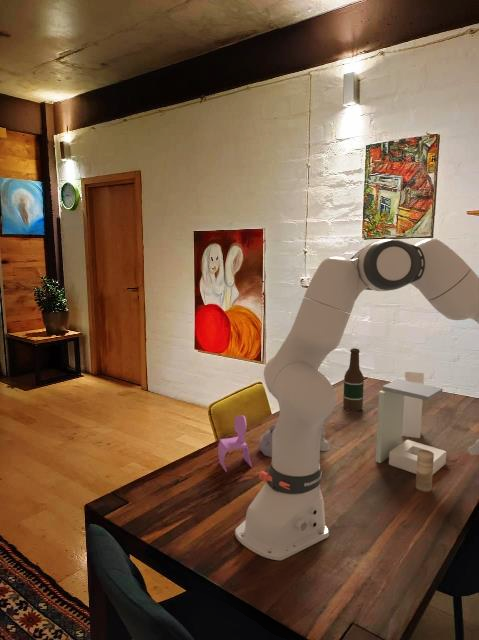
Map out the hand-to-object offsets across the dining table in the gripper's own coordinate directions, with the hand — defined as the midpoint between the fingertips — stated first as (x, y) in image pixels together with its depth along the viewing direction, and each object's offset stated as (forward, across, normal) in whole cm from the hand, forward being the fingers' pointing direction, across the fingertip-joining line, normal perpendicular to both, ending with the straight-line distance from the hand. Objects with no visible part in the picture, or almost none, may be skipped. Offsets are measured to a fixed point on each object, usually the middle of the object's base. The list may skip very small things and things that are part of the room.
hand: (476, 445), depth 115 cm
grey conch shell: (+50, +10, -28) cm, 58 cm away
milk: (+33, -32, -10) cm, 47 cm away
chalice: (+44, -2, -22) cm, 49 cm away
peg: (+20, 0, +3) cm, 20 cm away
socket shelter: (+26, -12, -4) cm, 29 cm away
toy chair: (+52, +26, -30) cm, 66 cm away
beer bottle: (+52, -41, -29) cm, 73 cm away
